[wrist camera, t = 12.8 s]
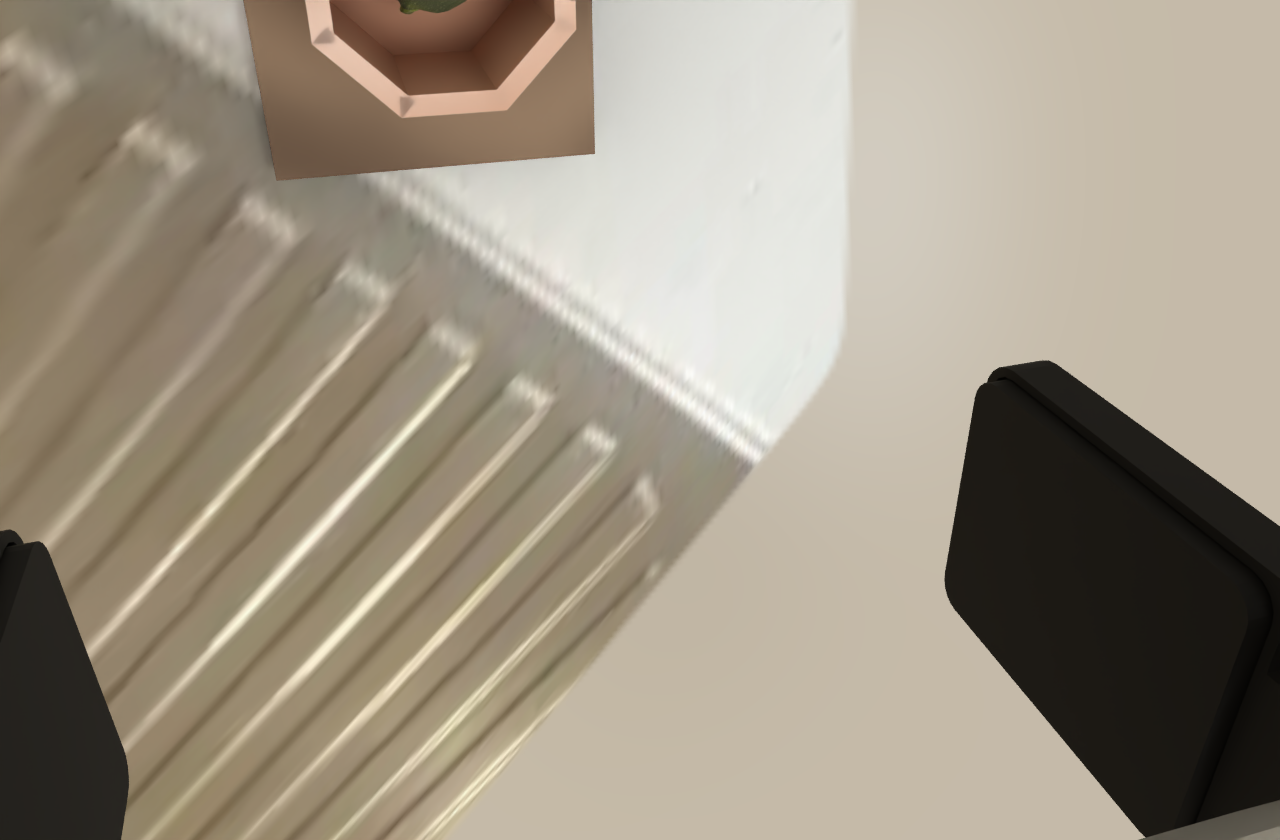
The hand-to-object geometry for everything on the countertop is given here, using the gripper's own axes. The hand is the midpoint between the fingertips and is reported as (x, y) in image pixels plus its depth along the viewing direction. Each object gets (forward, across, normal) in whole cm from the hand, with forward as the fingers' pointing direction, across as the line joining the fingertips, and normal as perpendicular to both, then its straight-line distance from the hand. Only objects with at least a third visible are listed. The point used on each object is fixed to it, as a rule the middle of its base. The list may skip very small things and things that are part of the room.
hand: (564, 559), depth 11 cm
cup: (+28, -2, -3) cm, 28 cm away
